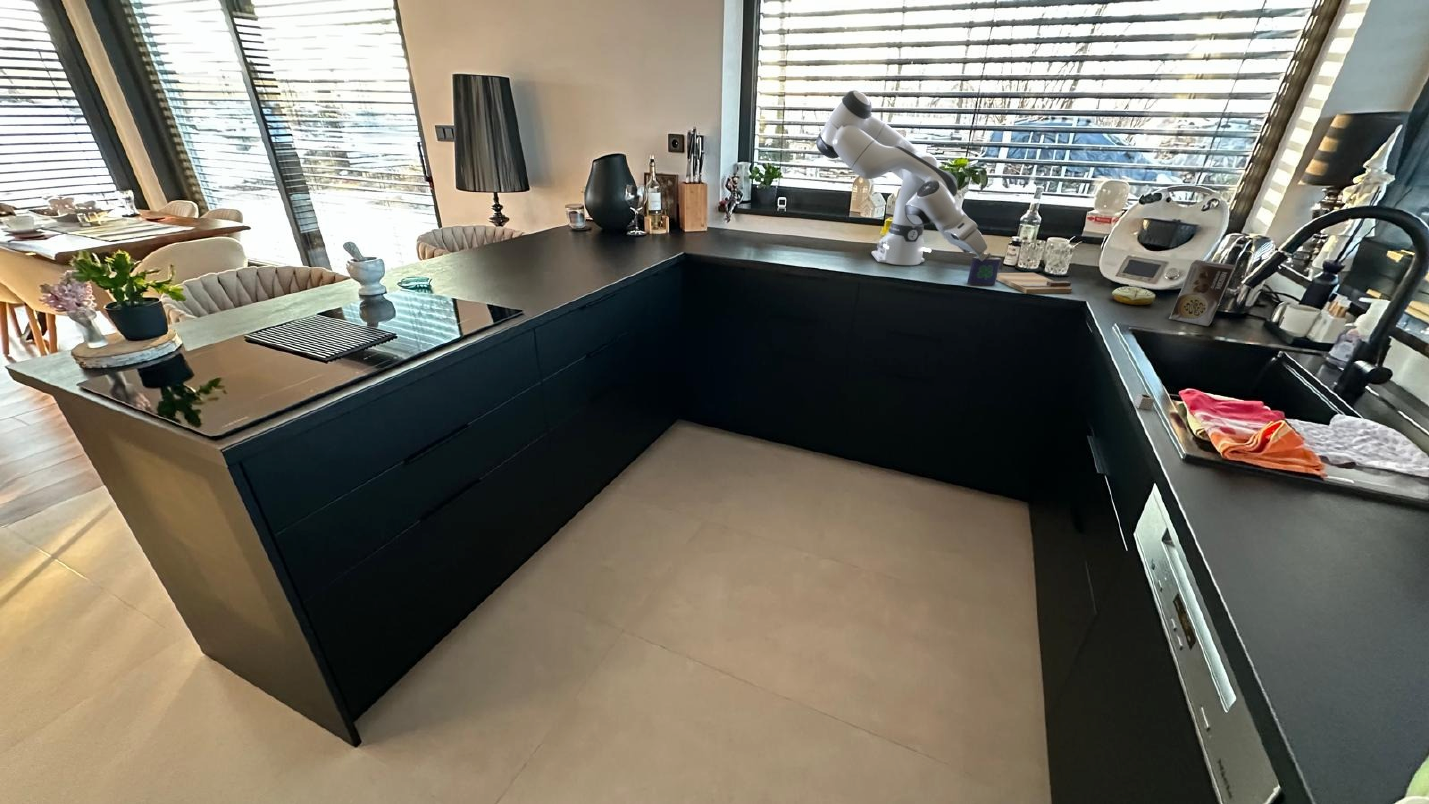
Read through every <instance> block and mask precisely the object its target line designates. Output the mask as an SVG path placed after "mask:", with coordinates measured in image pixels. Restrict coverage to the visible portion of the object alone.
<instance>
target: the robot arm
mask: <svg viewBox="0 0 1429 804" xmlns="http://www.w3.org/2000/svg"><path fill="white" fill-rule="evenodd" d="M872 111H873V107H872V102H871V101H870V99H869V97H868V96H866V94H864V93H863V92H861V91H858V90H855V89H854V90H849V91H848V92H847V93H845V95H844V96H843V97H842V98H841V100H840V102H839V103H838V104H837V106H835V108H834V109H833V110H832V112H831V114H830V115H829V117H828V119H827V121H826V122H825V124H824V125H823V127H822V130H821V132H819V134H818V135H817V138H816V141H815V143H816V148H817V150H818V151H819V152H820V153H821V154H822V155H823V156H824V157H826V158H828V159H838V158H840V159H841V160H842V162H843V163H844V164H845V165H846V166H847V167H848V168H849V169H850V170H852V171H853V172H854V173H855V174H856V175H857V176H859V177H860V178H862V179H864V180H873V179H877V178H880V177H882V176H884V175H886V174H888V173H890V172H891V173H892V174H894V175H895V176H897V178H899V179H900V180H902V182H901V186H900V189H899V192H898V195H897V198H896V199H895V203H894V211H893V217H892V221H891V222H890V225H889V227H888V232H887V233H886V234H885V235H884V236H883V237H881V238H880V240H879V241H878V242H876V248H877V250H872V251H871V255H872V256H873V258H874V259H875V260H876V261H877V262H878V263H885V264H889V265H890V264H891V265H897V266H917V265H920V264H921V263H924V262H925V260H926V259H925V258H924V257H923V254H924V253H923V252H926V253H927V252H928V253H931V252H932V249H931V248H927V247H924V244H925V240H924V238H923V236H922V235H923V234H924V230H925V228H924V226H928V225H930V224H934V226H935V228H936V230H937V231H938V232H939V233H940V235H941V236H942V237H943V239H945V240H946V241H947V242H948V243H949V244H950V245H953V246H955V247H957V248H958V249H960V250H961V251H962V252H963V254H965V255H969V253H972V254H974V255H976V257H977V258H978V259H979V260H981V261H983V260H984V259H986V255H985V253H984V252H986V250H988V244H987V242H986V239H984V235H982V233H981V232H980V230H979V229H978V226H979V225H978V224H977V222H975V221H974V220H973V219H972V218H970V217H969V216H968V215H967V213H965V211H964V210H963V209H962V207H960V206H959V205H958V204H957V201H956V198H955V196H957V193H958V181H957V178H956V177H955V175H953V174H952V173H950V172H948V171H946V170H945V169H941V168H940V165H939V162H938V160H937V158H936V157H935V156H934V155H933V154H932V153H929V152H925V151H922V150H921V149H919V148H918V147H916V146H915V145H914V144H913V143H912V142H911V141H909V140H908V139H907V138H906V137H904V135H902V134H901V133H899V132H898V131H897V130H895V129H894V128H892V127H891V126H890V125H888V124H887V123H886V122H885V121H883V120H881V119H880V118H878V117H877V116H874V115H873V114H872Z"/></svg>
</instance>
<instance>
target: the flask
mask: <svg viewBox="0 0 1429 804" xmlns="http://www.w3.org/2000/svg"><path fill="white" fill-rule="evenodd" d="M992 255H993V254H992V253H991V252H987V253H986V255H985V256H986V259H984V260H983V261H981V260H979V259H978V258H977V256H973V257H972V259H971V265H970V268H969V273H968V277H967V282H966V284H967V286H968V285H970V286H984V287H985V286H986V287H988V286H989V287H992V286H995V285H996V282H997V280H996V278H997V274H998V273H999V269H1000V265H1001V262H1002V258H1000V257H992Z"/></svg>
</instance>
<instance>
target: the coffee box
mask: <svg viewBox="0 0 1429 804" xmlns="http://www.w3.org/2000/svg"><path fill="white" fill-rule="evenodd" d="M1189 266H1190V267H1189V269H1188V271H1187V275H1186V277H1185V279H1184V281H1183V284H1182V286H1181V290H1180V292H1179V294H1178V296H1177V299H1176V301H1175V303H1174V306H1173V309H1172V310H1171V314H1170V316H1169V318H1168V319H1169V320H1174V321H1178V322H1185V323H1189V324H1195V325H1200V326H1204V327H1209V326H1210V325H1211V323H1212V321H1213V319H1214V317H1215V315H1216V312H1217V310H1218V308H1219V306H1220V302H1221V301H1222V299H1223V296H1224V294H1225V291H1226V289H1227V287H1228V285H1229V283H1230V280H1231V278H1232V276H1233V273H1234V271H1235V270H1236V267H1237V265H1236V264H1230V263H1229V264H1228V263H1223V262H1215V261H1208V260H1202V259H1201V260H1200V259H1195V260H1193V262H1192V263H1191V264H1190V265H1189Z"/></svg>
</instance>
